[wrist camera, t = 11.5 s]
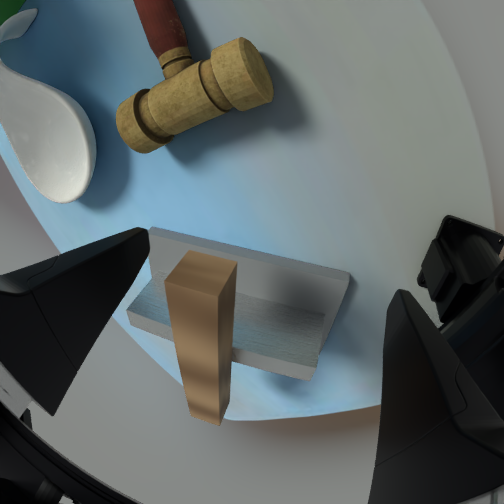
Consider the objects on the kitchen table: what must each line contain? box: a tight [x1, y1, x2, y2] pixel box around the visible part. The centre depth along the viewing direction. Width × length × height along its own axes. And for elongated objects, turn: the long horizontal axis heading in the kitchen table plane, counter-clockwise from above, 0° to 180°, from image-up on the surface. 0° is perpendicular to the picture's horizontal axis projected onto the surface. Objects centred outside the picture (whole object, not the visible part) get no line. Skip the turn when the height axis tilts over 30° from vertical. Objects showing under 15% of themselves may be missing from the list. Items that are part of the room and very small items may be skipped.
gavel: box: [116, 0, 274, 153], centre depth 14 cm, size 21×5×10 cm
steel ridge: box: [126, 270, 325, 381], centre depth 24 cm, size 16×2×6 cm, turn 85°
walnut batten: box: [164, 250, 237, 426], centre depth 21 cm, size 18×3×3 cm, turn 175°
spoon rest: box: [0, 8, 96, 203], centre depth 18 cm, size 24×12×7 cm, turn 26°
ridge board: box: [148, 227, 349, 355], centre depth 27 cm, size 18×10×1 cm, turn 85°
